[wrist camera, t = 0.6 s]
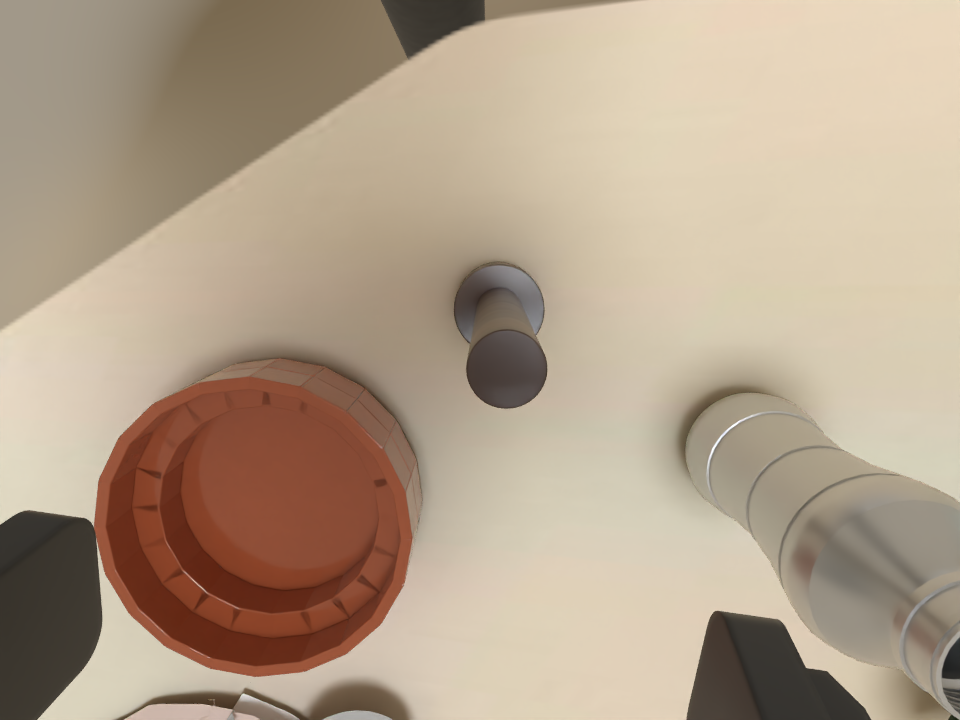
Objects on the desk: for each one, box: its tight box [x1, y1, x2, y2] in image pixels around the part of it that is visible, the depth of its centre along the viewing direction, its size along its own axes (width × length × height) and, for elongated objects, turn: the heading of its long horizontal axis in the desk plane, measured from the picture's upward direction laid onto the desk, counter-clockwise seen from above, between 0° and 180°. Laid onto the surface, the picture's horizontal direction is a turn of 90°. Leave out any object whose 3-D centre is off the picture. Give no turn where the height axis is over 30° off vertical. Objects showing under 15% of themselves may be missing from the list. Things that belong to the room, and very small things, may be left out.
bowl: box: [94, 358, 422, 677], centre depth 36 cm, size 15×15×6 cm
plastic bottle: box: [685, 392, 960, 720], centre depth 28 cm, size 6×7×20 cm
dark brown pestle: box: [454, 262, 547, 409], centre depth 27 cm, size 4×4×18 cm
